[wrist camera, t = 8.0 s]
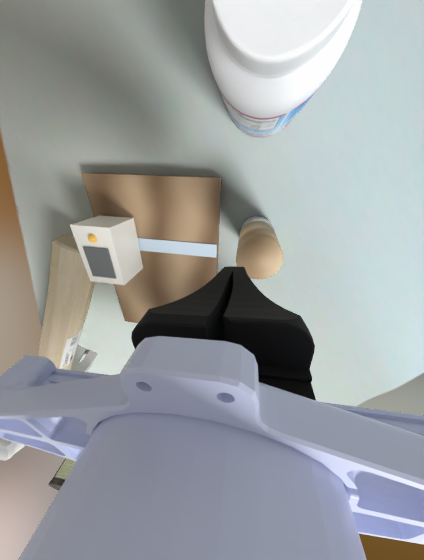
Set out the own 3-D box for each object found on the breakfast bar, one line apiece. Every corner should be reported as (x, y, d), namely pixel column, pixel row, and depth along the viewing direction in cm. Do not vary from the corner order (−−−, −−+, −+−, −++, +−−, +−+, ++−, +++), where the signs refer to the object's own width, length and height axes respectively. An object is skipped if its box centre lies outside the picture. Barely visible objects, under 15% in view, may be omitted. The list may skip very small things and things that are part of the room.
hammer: (-22, 242, 14) (-25, 453, 24) (37, 268, 15) (11, 465, 24) (105, 229, 29) (72, 362, 39) (133, 242, 29) (93, 371, 39)
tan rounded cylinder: (275, 217, 19) (288, 239, 13) (269, 249, 20) (277, 281, 14) (241, 215, 19) (238, 235, 13) (238, 246, 21) (234, 276, 15)
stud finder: (133, 217, 20) (106, 229, 16) (143, 268, 23) (122, 287, 19) (99, 215, 20) (65, 225, 16) (113, 264, 23) (87, 282, 19)
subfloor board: (221, 177, 18) (219, 178, 16) (214, 328, 28) (213, 335, 27) (90, 173, 19) (80, 173, 18) (129, 315, 30) (124, 321, 29)
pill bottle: (296, -1, 12) (489, -711, 2) (315, 111, 14) (449, -7, 5) (212, 66, 14) (132, -154, 4) (241, 154, 16) (230, 131, 7)
